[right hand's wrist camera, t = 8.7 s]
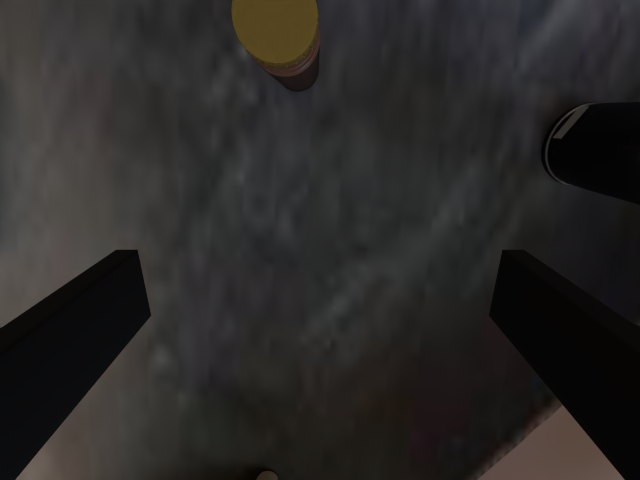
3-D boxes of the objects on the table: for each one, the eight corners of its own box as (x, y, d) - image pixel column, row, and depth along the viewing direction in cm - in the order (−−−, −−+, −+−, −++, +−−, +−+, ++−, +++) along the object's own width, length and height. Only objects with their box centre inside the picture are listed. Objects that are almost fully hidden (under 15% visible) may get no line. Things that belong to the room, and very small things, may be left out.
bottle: (320, 47, 36) (326, -32, 16) (316, 94, 38) (316, 73, 18) (277, 41, 36) (230, -46, 16) (274, 89, 38) (228, 62, 18)
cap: (323, -21, 18) (323, -32, 16) (314, 73, 19) (314, 69, 18) (238, -33, 17) (231, -46, 16) (235, 62, 19) (229, 58, 17)
